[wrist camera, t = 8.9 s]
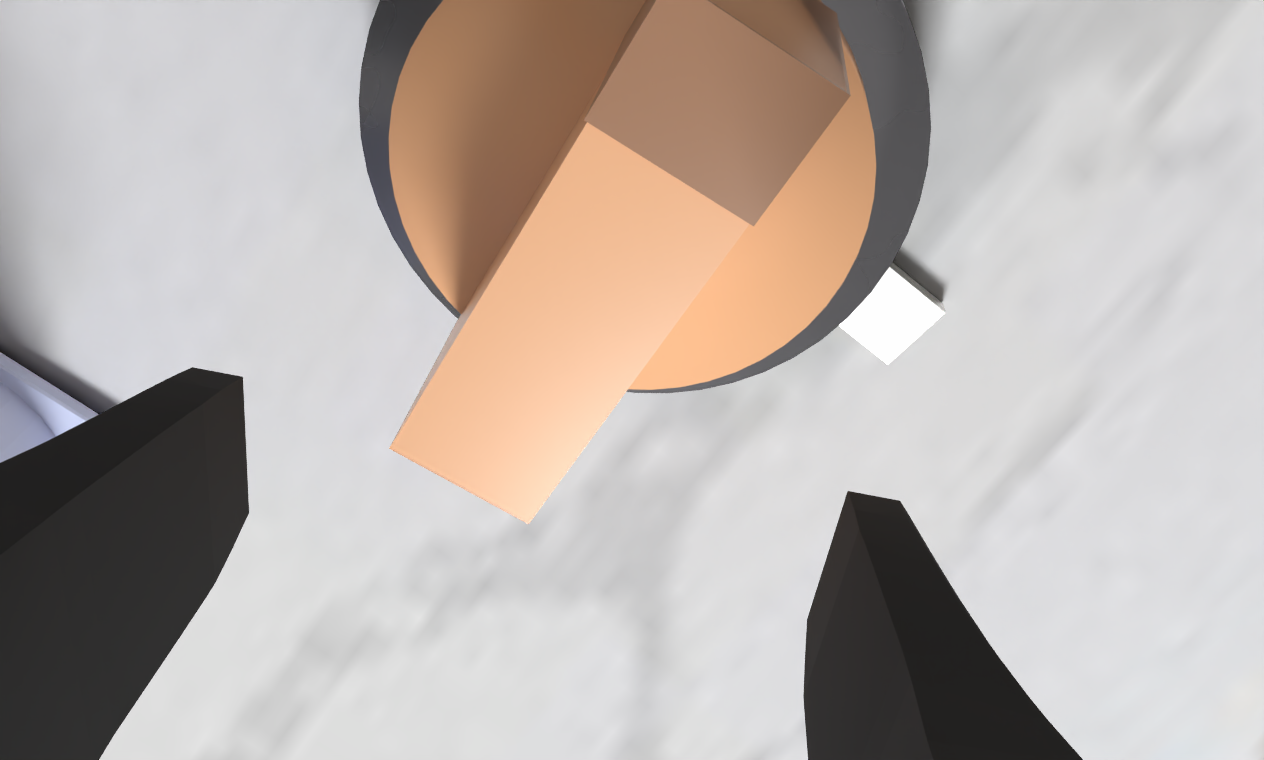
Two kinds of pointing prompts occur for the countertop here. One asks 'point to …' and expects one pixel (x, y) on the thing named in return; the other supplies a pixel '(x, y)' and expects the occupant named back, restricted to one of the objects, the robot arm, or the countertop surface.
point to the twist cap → (616, 211)
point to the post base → (900, 114)
